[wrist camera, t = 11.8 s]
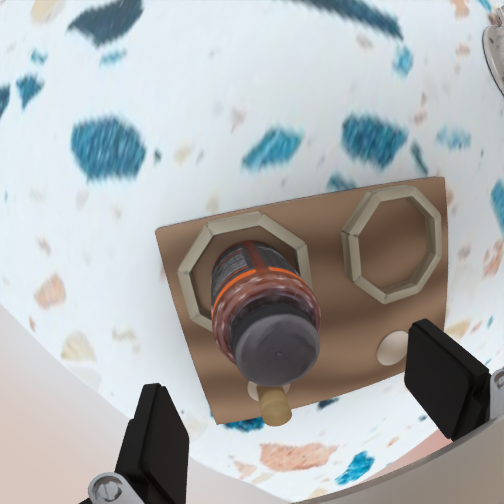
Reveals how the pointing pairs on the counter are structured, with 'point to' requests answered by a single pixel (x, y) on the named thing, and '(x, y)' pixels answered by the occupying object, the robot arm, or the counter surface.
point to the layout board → (321, 287)
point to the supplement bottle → (264, 314)
